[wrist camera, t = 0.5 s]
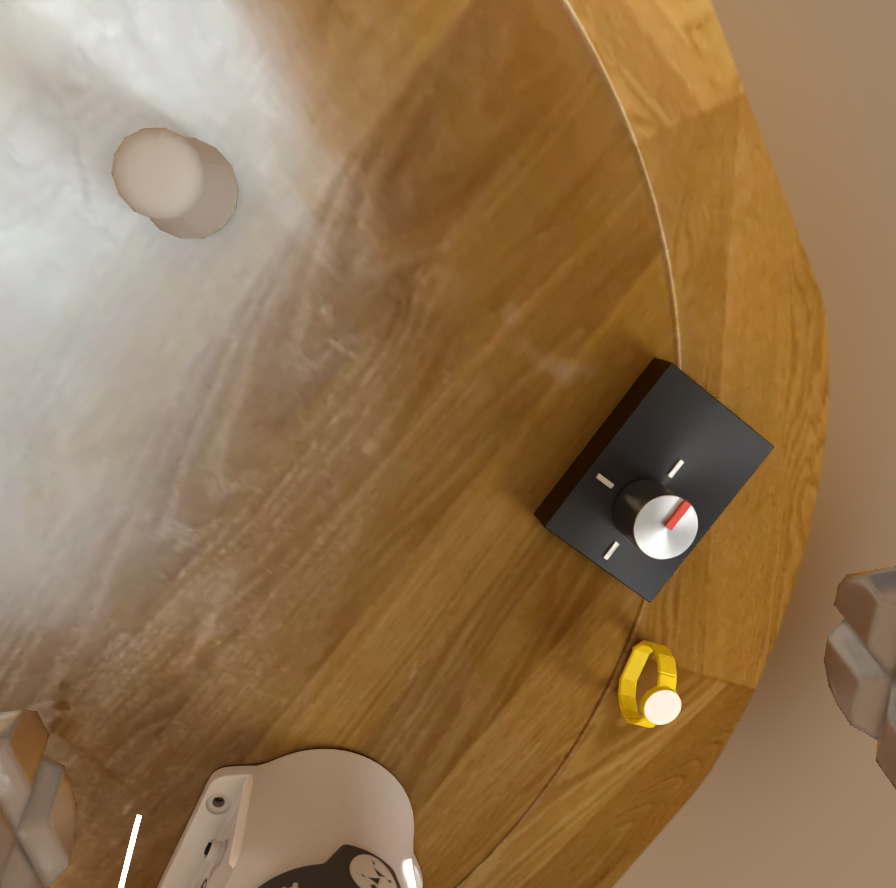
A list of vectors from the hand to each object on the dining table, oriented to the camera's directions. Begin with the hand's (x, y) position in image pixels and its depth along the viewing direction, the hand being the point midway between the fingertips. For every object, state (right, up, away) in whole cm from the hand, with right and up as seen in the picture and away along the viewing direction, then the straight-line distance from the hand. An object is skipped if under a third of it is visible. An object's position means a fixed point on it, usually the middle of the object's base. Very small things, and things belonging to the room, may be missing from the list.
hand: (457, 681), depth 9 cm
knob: (+13, -2, +50) cm, 52 cm away
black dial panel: (+14, 0, +53) cm, 55 cm away
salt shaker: (-16, +18, +44) cm, 50 cm away
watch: (+14, -14, +56) cm, 60 cm away
